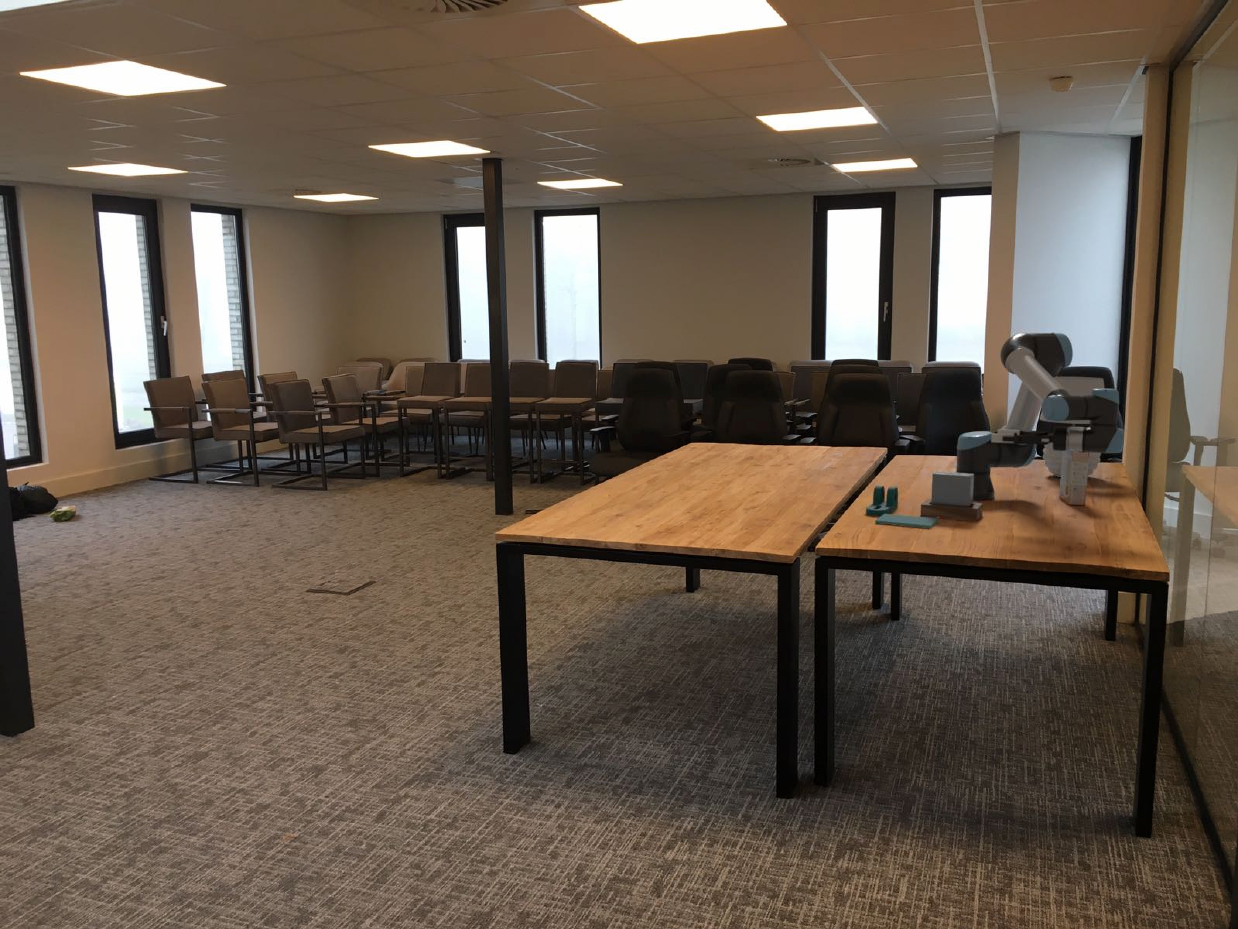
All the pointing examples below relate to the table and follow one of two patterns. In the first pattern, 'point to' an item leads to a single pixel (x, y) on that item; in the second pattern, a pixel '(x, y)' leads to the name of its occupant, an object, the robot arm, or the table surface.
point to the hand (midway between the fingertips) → (994, 435)
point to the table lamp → (1072, 421)
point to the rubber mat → (907, 520)
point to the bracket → (883, 501)
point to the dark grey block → (952, 489)
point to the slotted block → (951, 511)
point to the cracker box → (1074, 477)
